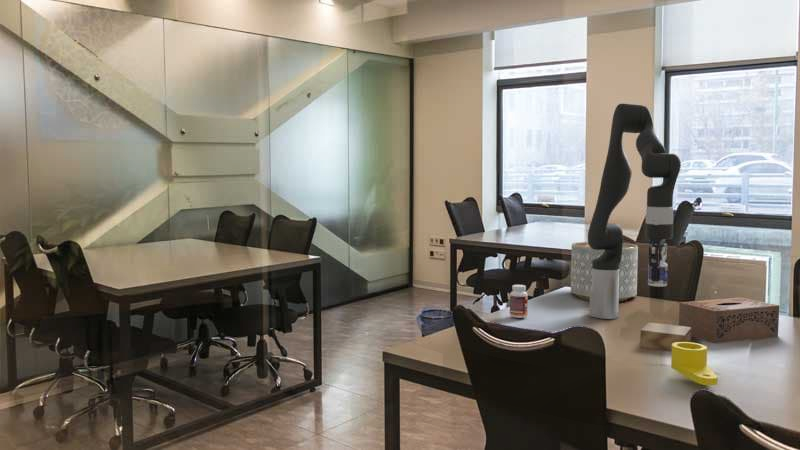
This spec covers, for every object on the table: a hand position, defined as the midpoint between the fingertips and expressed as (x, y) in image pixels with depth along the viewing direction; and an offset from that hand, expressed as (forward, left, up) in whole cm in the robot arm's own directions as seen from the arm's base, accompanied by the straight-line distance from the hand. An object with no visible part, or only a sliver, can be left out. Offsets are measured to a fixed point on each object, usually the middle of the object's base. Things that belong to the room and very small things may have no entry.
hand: (657, 279), depth 193 cm
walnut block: (+3, +1, -20) cm, 20 cm away
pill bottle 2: (0, 0, -2) cm, 2 cm away
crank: (+14, -24, -20) cm, 34 cm away
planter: (-32, +64, -20) cm, 74 cm away
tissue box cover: (+17, +26, -20) cm, 37 cm away
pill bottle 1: (-49, +16, -20) cm, 56 cm away
